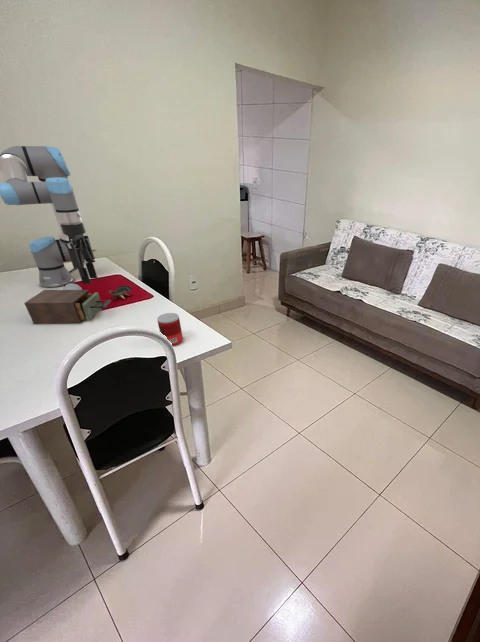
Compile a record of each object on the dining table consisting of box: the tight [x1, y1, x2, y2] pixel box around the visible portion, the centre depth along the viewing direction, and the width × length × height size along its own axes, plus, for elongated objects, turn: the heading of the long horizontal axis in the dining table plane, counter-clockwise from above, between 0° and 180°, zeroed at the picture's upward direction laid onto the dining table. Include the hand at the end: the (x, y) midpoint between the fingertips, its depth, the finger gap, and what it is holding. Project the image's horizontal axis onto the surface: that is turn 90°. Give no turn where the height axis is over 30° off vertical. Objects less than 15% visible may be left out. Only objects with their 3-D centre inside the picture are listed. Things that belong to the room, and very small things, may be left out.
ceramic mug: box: [62, 282, 83, 290], centre depth 158 cm, size 11×8×8 cm
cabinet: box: [24, 289, 91, 325], centre depth 143 cm, size 19×14×10 cm
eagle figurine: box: [108, 285, 133, 301], centre depth 162 cm, size 8×7×9 cm
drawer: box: [74, 291, 112, 322], centre depth 143 cm, size 24×13×8 cm, turn 95°
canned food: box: [156, 312, 184, 347], centre depth 127 cm, size 8×8×11 cm
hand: (90, 280), depth 138 cm, fingers open, 6 cm apart
